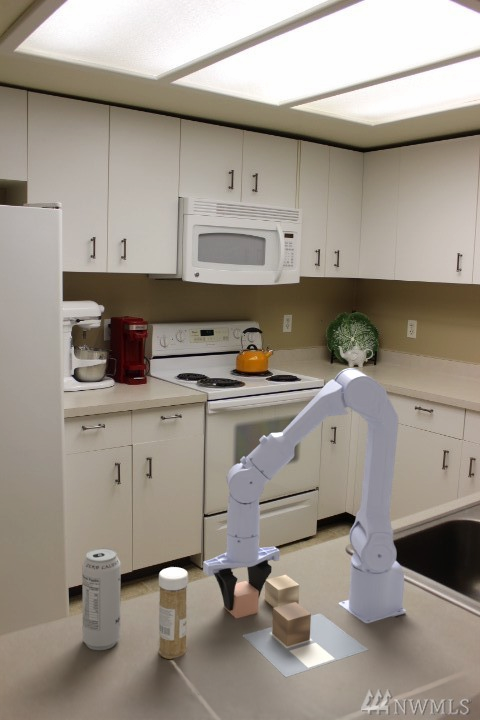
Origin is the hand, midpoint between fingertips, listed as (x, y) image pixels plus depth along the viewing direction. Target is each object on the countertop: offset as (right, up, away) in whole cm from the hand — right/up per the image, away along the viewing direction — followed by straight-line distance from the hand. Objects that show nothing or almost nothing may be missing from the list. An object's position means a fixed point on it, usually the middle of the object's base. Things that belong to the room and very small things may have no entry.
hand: (241, 604), depth 120 cm
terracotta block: (0, -1, 0) cm, 1 cm away
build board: (+10, -3, -10) cm, 15 cm away
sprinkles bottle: (-11, -3, -13) cm, 17 cm away
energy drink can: (-23, -2, -10) cm, 25 cm away
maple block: (+7, -1, +3) cm, 8 cm away
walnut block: (+8, -2, -8) cm, 12 cm away
